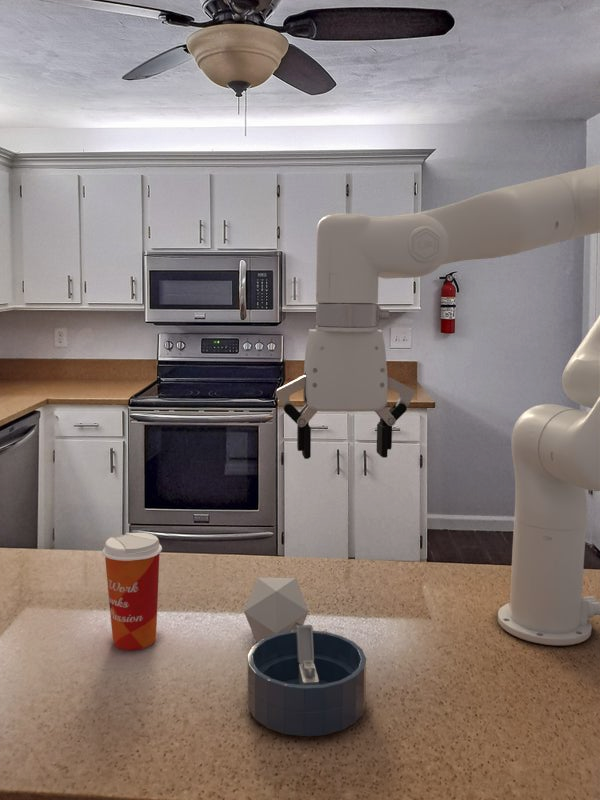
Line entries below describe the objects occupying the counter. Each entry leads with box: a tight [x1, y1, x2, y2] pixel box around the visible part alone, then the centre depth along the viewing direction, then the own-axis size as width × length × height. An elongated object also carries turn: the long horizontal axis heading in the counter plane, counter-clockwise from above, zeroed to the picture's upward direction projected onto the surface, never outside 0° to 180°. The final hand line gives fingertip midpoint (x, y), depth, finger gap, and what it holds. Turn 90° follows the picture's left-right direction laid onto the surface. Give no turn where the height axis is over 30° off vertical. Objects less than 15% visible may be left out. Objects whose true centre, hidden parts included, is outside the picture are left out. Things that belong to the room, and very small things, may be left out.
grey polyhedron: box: [243, 577, 309, 644], centre depth 99 cm, size 8×9×10 cm
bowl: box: [247, 630, 367, 737], centre depth 83 cm, size 13×13×6 cm
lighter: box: [296, 624, 319, 685], centre depth 83 cm, size 7×2×8 cm, turn 7°
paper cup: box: [101, 532, 163, 651], centre depth 97 cm, size 8×8×14 cm
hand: (344, 455), depth 92 cm, fingers open, 9 cm apart
